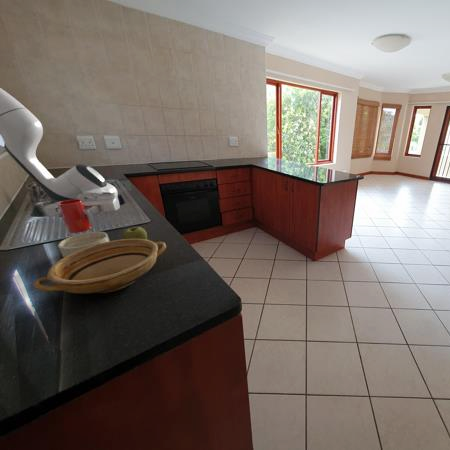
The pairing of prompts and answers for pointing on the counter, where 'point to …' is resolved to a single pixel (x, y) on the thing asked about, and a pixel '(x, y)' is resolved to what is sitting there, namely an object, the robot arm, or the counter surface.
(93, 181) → the robot arm
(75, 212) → the fries cup
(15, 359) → the counter surface
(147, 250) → the wicker basket
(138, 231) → the apple
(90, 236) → the serving bowl
